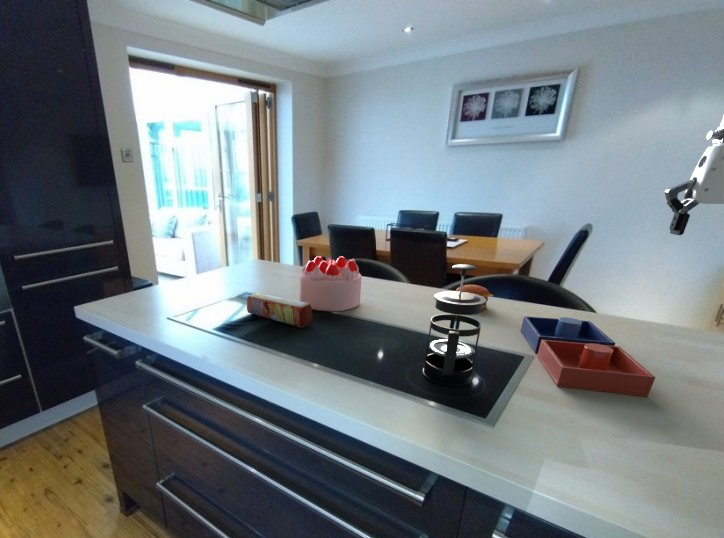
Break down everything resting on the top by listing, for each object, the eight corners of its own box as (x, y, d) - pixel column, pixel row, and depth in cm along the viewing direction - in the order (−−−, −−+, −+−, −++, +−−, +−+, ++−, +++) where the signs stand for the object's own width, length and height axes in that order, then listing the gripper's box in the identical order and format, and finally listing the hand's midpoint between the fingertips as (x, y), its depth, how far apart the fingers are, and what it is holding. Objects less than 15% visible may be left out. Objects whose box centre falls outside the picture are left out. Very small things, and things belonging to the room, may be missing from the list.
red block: (607, 381, 75) (617, 353, 73) (580, 378, 76) (589, 351, 74) (590, 362, 83) (598, 336, 80) (566, 360, 84) (573, 334, 82)
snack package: (244, 315, 119) (243, 293, 116) (259, 309, 123) (259, 289, 121) (299, 330, 105) (299, 307, 103) (314, 324, 110) (314, 301, 107)
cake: (370, 300, 129) (374, 257, 123) (337, 316, 115) (339, 269, 110) (322, 291, 141) (322, 251, 135) (287, 304, 127) (286, 261, 122)
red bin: (613, 363, 83) (619, 346, 82) (647, 397, 71) (655, 377, 69) (537, 356, 88) (541, 339, 86) (556, 386, 75) (562, 367, 74)
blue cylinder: (577, 349, 89) (585, 324, 87) (555, 347, 90) (562, 322, 88) (565, 335, 96) (571, 312, 94) (544, 333, 98) (550, 311, 96)
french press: (425, 361, 86) (439, 258, 77) (471, 369, 83) (492, 261, 74) (419, 386, 77) (434, 270, 68) (471, 395, 73) (495, 274, 64)
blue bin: (585, 336, 97) (589, 320, 96) (609, 360, 85) (615, 343, 83) (520, 330, 101) (523, 316, 100) (534, 352, 89) (539, 336, 88)
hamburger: (492, 306, 120) (497, 286, 117) (475, 313, 115) (479, 291, 113) (464, 299, 127) (467, 280, 125) (446, 305, 122) (449, 285, 120)
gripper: (697, 137, 69) (662, 236, 75) (832, 131, 63) (782, 238, 70) (672, 140, 75) (642, 231, 82) (793, 135, 70) (751, 233, 76)
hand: (707, 234), depth 76 cm, fingers open, 9 cm apart
